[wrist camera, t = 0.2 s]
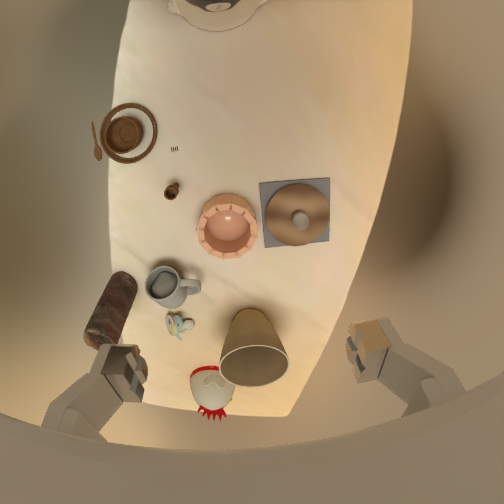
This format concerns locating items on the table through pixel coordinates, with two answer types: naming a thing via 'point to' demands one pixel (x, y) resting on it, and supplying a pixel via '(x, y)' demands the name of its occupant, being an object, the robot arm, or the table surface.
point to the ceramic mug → (169, 287)
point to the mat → (273, 187)
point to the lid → (297, 215)
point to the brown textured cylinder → (111, 311)
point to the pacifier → (176, 328)
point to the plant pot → (252, 352)
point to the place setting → (126, 140)
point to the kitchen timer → (211, 390)
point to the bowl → (227, 226)
